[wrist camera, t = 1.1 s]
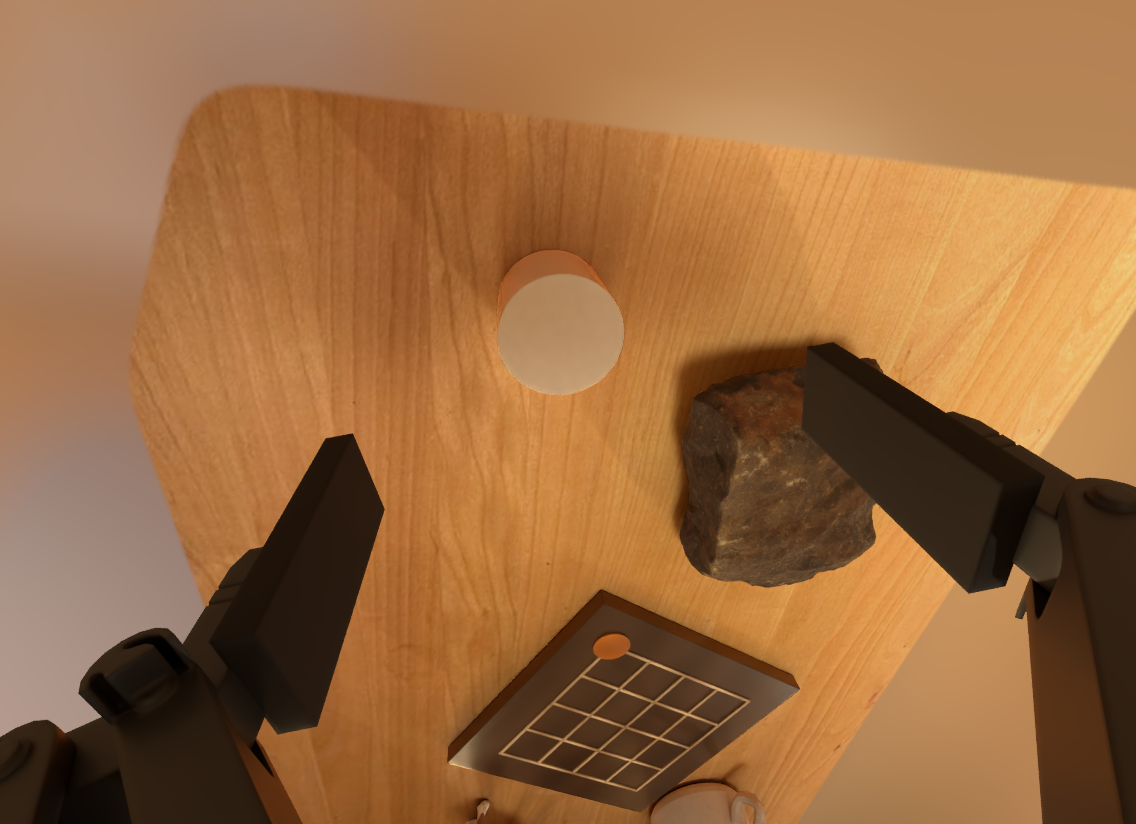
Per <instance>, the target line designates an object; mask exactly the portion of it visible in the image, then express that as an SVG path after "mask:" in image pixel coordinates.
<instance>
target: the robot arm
mask: <svg viewBox="0 0 1136 824" xmlns="http://www.w3.org/2000/svg"><path fill="white" fill-rule="evenodd" d="M801 429H802V430H803V431H804V432H805V433H806V434H807V435H808V436H809V437H810V438H811V439H812V440H813V441H814V442H815V443H816V444H817V445H818V446H819V447H820V448H821V449H822V450H823V451H824V452H825V453H826V454H827V455H828V456H829V457H831V458H832V459H833V460H834V461H835V462H836V463H837V464H838V465H839V466H840V467H841V468H842V469H843V470H844V471H845V472H846V473H847V474H848V475H849V476H850V477H851V478H852V479H853V480H854V481H855V482H856V483H857V484H858V485H859V486H860V487H861V488H862V489H863V490H864V491H865V492H866V493H867V494H868V495H869V496H870V497H871V498H872V499H873V500H874V501H875V502H876V503H877V504H878V505H879V506H880V507H881V508H882V509H883V510H884V511H885V512H886V513H887V514H888V515H889V516H890V517H891V518H892V519H893V520H894V521H895V522H896V523H898V524H899V525H900V526H901V527H902V528H903V529H904V530H905V531H906V532H907V533H908V534H909V535H910V536H911V537H912V538H913V539H914V540H915V541H916V542H917V543H918V544H919V545H920V546H921V547H922V548H923V549H924V550H925V551H926V552H927V553H928V554H929V555H930V556H931V557H932V558H933V559H934V560H935V561H936V562H937V563H938V564H939V565H940V566H941V567H942V568H943V569H944V570H945V571H946V572H947V573H948V574H949V575H950V576H951V577H952V578H953V579H954V580H955V581H956V582H957V583H958V584H959V585H960V586H962V588H964V589H965V590H966V591H967V592H968V593H974V592H979V591H984V590H989V589H994V588H999V587H1003V586H1005V585H1006V583H1007V580H1008V578H1009V575H1010V572H1011V569H1012V567H1013V564H1015V565H1017V566H1018V567H1019V568H1020V569H1021V570H1022V571H1024V572H1025V573H1026V574H1027V575H1029V576H1030V579H1029V581H1028V584H1027V586H1026V589H1025V591H1024V594H1023V597H1022V599H1021V602H1020V604H1019V607H1018V609H1017V612H1016V616H1015V617H1016V618H1019V619H1023V616H1024V614H1025V612H1027V620H1028V634H1029V647H1030V659H1031V660H1030V661H1031V674H1032V687H1033V700H1034V713H1035V727H1036V741H1037V754H1038V768H1039V781H1040V795H1041V807H1042V821H1043V824H1136V487H1134V486H1131V485H1129V484H1125V483H1121V482H1117V481H1113V480H1109V479H1098V478H1085V479H1084V478H1083V479H1075V478H1074V477H1072V476H1070V475H1069V474H1067V473H1065V472H1063V471H1062V470H1060V469H1059V468H1057V467H1055V466H1054V465H1052V464H1050V463H1049V462H1047V461H1045V460H1044V459H1042V458H1040V457H1039V456H1037V455H1035V454H1034V453H1032V452H1030V451H1029V450H1027V449H1026V448H1024V447H1022V446H1021V445H1016V444H1015V442H1014V441H1012V440H1011V439H1009V438H1007V437H1006V436H1004V435H999V432H997V431H996V430H994V429H992V428H991V427H989V426H987V425H986V424H984V423H982V422H981V421H979V420H976V419H973V418H970V417H967V416H965V415H962V414H959V413H956V412H948V413H945V412H943V411H942V410H940V409H939V408H937V407H935V406H934V405H932V404H931V403H929V402H928V401H926V400H924V399H923V398H921V397H920V396H918V395H916V394H915V393H913V392H912V391H910V390H908V389H907V388H905V387H904V386H902V385H900V384H899V383H897V382H896V381H894V380H893V379H891V378H889V377H888V376H886V375H885V374H883V373H881V372H880V371H878V370H877V369H875V368H873V367H872V366H870V365H869V364H867V363H866V362H864V361H862V360H861V359H859V358H858V357H856V356H854V355H853V354H851V353H850V352H848V351H846V350H845V349H843V348H842V347H840V346H839V345H837V344H835V343H834V342H832V343H827V344H821V345H816V346H811V347H807V359H806V372H805V385H804V399H803V412H802V425H801ZM384 510H385V509H384V507H383V504H382V502H381V500H380V497H379V495H378V492H377V490H376V488H375V485H374V483H373V480H372V478H371V476H370V473H369V471H368V468H367V466H366V464H365V461H364V459H363V456H362V454H361V452H360V449H359V447H358V444H357V442H356V440H355V437H354V435H353V433H352V434H347V435H342V436H336V437H331V438H326V439H325V441H324V442H323V444H322V446H321V448H320V449H319V451H318V453H317V455H316V456H315V458H314V460H313V461H312V463H311V465H310V467H309V468H308V470H307V472H306V474H305V475H304V477H303V479H302V481H301V482H300V484H299V486H298V487H297V489H296V491H295V493H294V494H293V496H292V498H291V500H290V501H289V503H288V505H287V507H286V508H285V510H284V512H283V514H282V515H281V517H280V519H279V520H278V522H277V524H276V526H275V527H274V529H273V531H272V533H271V534H270V536H269V538H268V540H267V541H266V543H265V545H264V546H263V547H261V548H256V549H250V550H249V551H248V552H247V553H245V554H244V555H243V556H242V557H241V558H240V559H239V560H238V561H237V562H236V563H235V564H234V565H233V566H232V567H231V568H230V569H229V571H228V572H227V574H226V576H225V577H224V579H223V580H222V582H221V584H220V585H219V590H217V591H216V592H215V593H214V595H213V596H212V598H211V600H210V601H209V606H206V608H205V609H204V611H203V612H202V614H201V616H200V617H199V619H198V620H197V622H196V624H195V625H194V627H193V628H192V630H191V632H190V633H189V635H188V636H187V638H186V640H185V641H184V643H183V644H182V643H181V642H180V641H179V639H178V638H177V637H176V636H175V635H174V633H172V632H171V631H170V630H169V629H167V628H153V629H150V630H146V631H142V632H139V633H137V634H135V635H133V636H131V637H129V638H127V639H125V640H123V641H121V642H120V643H119V644H117V645H116V646H114V647H113V648H111V649H110V650H108V651H107V652H106V653H104V654H103V655H102V656H101V657H100V658H99V659H98V660H97V661H96V662H95V663H94V664H93V665H92V666H91V667H90V668H89V670H88V671H87V673H86V674H85V676H84V677H83V679H82V680H81V683H80V688H79V695H81V696H82V697H83V698H84V699H85V700H86V701H87V702H88V703H89V704H90V705H91V706H92V707H93V708H94V709H95V710H96V711H97V712H98V713H99V714H100V715H101V716H102V717H101V718H99V719H96V720H94V721H92V722H90V723H87V724H85V725H83V726H81V727H79V728H76V729H74V730H72V731H70V732H67V733H64V732H63V731H62V730H61V729H59V727H57V726H56V725H55V724H54V723H52V722H50V721H48V720H41V721H33V722H30V723H27V724H25V725H22V726H20V727H17V728H15V729H13V730H12V731H10V732H8V733H7V734H5V735H3V736H2V737H0V824H302V822H301V820H300V818H299V816H298V814H297V812H296V810H295V808H294V806H293V804H292V802H291V800H290V798H289V796H288V794H287V792H286V790H285V788H284V787H283V785H282V783H281V781H280V779H279V777H278V775H277V773H276V771H275V769H274V767H273V765H272V763H271V761H270V759H269V757H268V755H267V753H266V751H265V749H264V748H263V746H262V745H261V743H260V742H259V741H258V740H257V738H256V737H257V735H258V732H259V730H260V727H261V725H262V722H263V720H264V717H265V718H266V719H267V721H268V722H269V723H270V725H271V726H272V727H273V729H274V730H275V731H276V733H277V734H282V733H287V732H292V731H297V730H302V729H307V728H312V727H316V726H317V725H318V722H319V719H320V715H321V712H322V709H323V706H324V703H325V699H326V696H327V693H328V690H329V686H330V683H331V680H332V677H333V674H334V670H335V667H336V664H337V661H338V658H339V654H340V651H341V648H342V645H343V641H344V638H345V635H346V632H347V629H348V625H349V622H350V619H351V616H352V613H353V609H354V606H355V603H356V600H357V596H358V593H359V590H360V587H361V584H362V580H363V577H364V574H365V571H366V568H367V564H368V561H369V558H370V555H371V551H372V548H373V545H374V542H375V539H376V535H377V532H378V529H379V526H380V523H381V519H382V516H383V513H384Z"/></svg>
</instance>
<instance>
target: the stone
mask: <svg viewBox="0 0 1136 824" xmlns="http://www.w3.org/2000/svg"><path fill="white" fill-rule="evenodd" d="M861 360H862V361H864V362H866V363H867V364H869V365H870V366H872V367H873V368H875V369H877V370H878V371H880V372H881V373H883V371H882V369H881V368H880V366H879V365H878V363H877V361H876V359H870V358H861ZM805 372H806V366H796V367H790V368H788V369H775V370H771V371H766V372H761V373H755V374H748V375H740V376H737V377H733V378H731V379H728V380H726V381H724V382H722V383H717V384H712V385H711V386H710V387H709V388H708V389H707V390H706V391H704V392H702V393H700V394H698V395H697V396H695V397H694V398H693V402H692V405H691V408H690V410H689V413H690V417H689V421H688V424H687V426H686V429H685V432H684V435H683V438H682V449H683V451H684V461H685V466H686V469H687V475H688V481H689V484H690V490H689V505H688V508H687V511H686V513H685V516H684V521H683V524H682V527H681V530H680V539H681V543H682V545H683V548H684V551H685V554H686V556H687V558H688V559H689V561H690V563H691V564H692V565H693V566H694V567H695V568H696V569H697V570H698V571H699V572H700V573H701V574H702V575H705V576H708V577H711V578H714V579H717V580H721V581H743V582H746V583H748V584H750V585H752V586H755V585H757V586H762V587H775V586H781V585H785V584H786V585H790V584H794V583H798V582H803V581H806V580H808V579H811V578H813V577H814V575H816V574H817V573H818V572H823V571H828V570H835V569H838V568H840V567H844V566H846V565H847V564H849V563H850V562H851V561H853V560H854V559H856V558H857V557H859V556H861V555H862V554H863V553H864V552H865V551H866V550H867V549H869V548H870V547H871V546H872V545H873V544H875V539H876V534H875V530H874V527H873V520H872V508H873V506H874V505H875V504H876V502H875V501H874V500H873V499H872V498H871V497H870V496H869V495H868V494H867V493H866V492H865V491H864V490H863V489H862V488H861V487H860V486H859V485H858V484H857V483H856V482H855V481H854V480H853V479H852V478H851V477H850V476H849V475H848V474H847V473H846V472H845V471H844V470H843V469H842V468H841V467H840V466H839V465H838V464H837V463H836V462H835V461H834V460H833V459H832V458H831V457H829V456H828V455H827V454H826V453H825V452H824V451H823V450H822V449H821V448H820V447H819V446H818V445H817V444H816V443H815V442H814V441H813V440H812V439H811V438H810V437H809V436H808V435H807V434H806V433H805V432H804V431H803V430H802V429H801V425H802V412H803V399H804V385H805Z"/></svg>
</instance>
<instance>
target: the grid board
mask: <svg viewBox="0 0 1136 824" xmlns="http://www.w3.org/2000/svg"><path fill="white" fill-rule="evenodd" d="M799 690H800V688H799V686H798V684H797V682H796V680H795V678H794V677H793V676H792V675H790V674H788V673H786V672H783V671H781V670H779V669H777V668H774V667H772V666H770V665H768V664H765V663H763V662H761V661H759V660H756V659H754V658H752V657H750V656H748V655H745V654H743V653H741V652H739V651H736V650H734V649H732V648H730V647H727V646H725V645H723V644H721V643H719V642H716V641H714V640H712V639H710V638H707V637H705V636H703V635H701V634H698V633H696V632H694V631H692V630H689V629H687V628H685V627H683V626H681V625H678V624H676V623H674V622H672V621H669V620H667V619H665V618H663V617H660V616H658V615H656V614H654V613H651V612H649V611H647V610H645V609H643V608H640V607H638V606H636V605H634V604H631V603H629V602H627V601H625V600H622V599H620V598H618V597H616V596H614V595H611V594H609V593H607V592H605V591H602V590H601V591H600V592H599V593H598V594H597V595H596V596H595V597H594V598H593V599H592V600H591V601H590V602H589V603H588V604H587V605H586V606H585V607H584V608H583V609H582V610H581V611H580V612H579V613H578V614H577V616H576V617H575V618H574V619H573V620H572V621H571V622H570V623H569V624H568V625H567V626H566V627H565V628H564V629H563V630H562V631H561V632H560V633H559V634H558V635H557V636H556V637H555V638H554V639H553V640H552V641H551V642H550V643H549V644H548V645H547V646H546V647H545V648H544V650H543V651H542V652H541V653H540V654H539V655H538V656H537V657H536V658H535V659H534V660H533V661H532V662H531V663H530V664H529V665H528V666H527V667H526V668H525V669H524V670H523V671H522V672H521V673H520V674H519V675H518V676H517V677H516V678H515V679H514V680H513V681H512V683H511V684H510V685H509V686H508V687H507V688H506V689H505V690H504V691H503V692H502V693H501V694H500V695H499V696H498V697H497V698H496V699H495V700H494V701H493V702H492V703H491V704H490V705H489V706H488V707H487V708H486V709H485V710H484V711H483V712H482V713H481V714H480V715H479V717H478V718H477V719H476V720H475V721H474V722H473V723H472V724H471V725H470V726H469V727H468V728H467V729H466V730H465V731H464V732H463V733H462V734H461V735H460V736H459V737H458V738H457V739H456V740H455V741H454V742H453V743H452V744H451V745H450V746H449V748H448V758H447V763H449V764H452V765H456V766H460V767H464V768H468V769H472V770H476V771H480V772H484V773H488V774H492V775H496V776H500V777H503V778H507V779H511V780H515V781H519V782H523V783H527V784H531V785H535V786H539V787H543V788H547V789H550V790H554V791H558V792H562V793H566V794H570V795H574V796H578V797H582V798H586V799H590V800H594V801H598V802H601V803H605V804H609V805H613V806H617V807H621V808H625V809H629V810H633V811H637V812H641V811H643V810H644V809H645V808H647V807H648V806H649V805H651V804H652V803H653V802H654V801H656V800H657V799H658V798H660V797H661V796H662V795H664V794H665V793H666V792H667V791H669V790H670V789H671V788H673V787H674V786H675V785H677V784H678V783H679V782H681V781H682V780H683V779H684V778H686V777H687V776H688V775H690V774H691V773H692V772H694V771H695V770H696V769H697V768H699V767H700V766H701V765H703V764H704V763H705V762H707V761H708V760H709V759H710V758H712V757H713V756H714V755H716V754H717V753H718V752H720V751H721V750H722V749H723V748H725V747H726V746H727V745H729V744H730V743H731V742H733V741H734V740H735V739H736V738H738V737H739V736H740V735H742V734H743V733H744V732H746V731H747V730H748V729H749V728H751V727H752V726H753V725H755V724H756V723H757V722H759V721H760V720H761V719H763V718H764V717H765V716H766V715H768V714H769V713H770V712H772V711H773V710H774V709H776V708H777V707H778V706H779V705H781V704H782V703H783V702H785V701H786V700H787V699H789V698H790V697H791V696H792V695H794V694H795V693H796V692H798V691H799Z"/></svg>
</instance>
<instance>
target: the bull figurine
mask: <svg viewBox="0 0 1136 824" xmlns="http://www.w3.org/2000/svg"><path fill="white" fill-rule="evenodd" d="M489 806H490V801H488V800H484V801H482V802H481V803H480V805H479V806H478V807H477V812H478V816H477V819H473V820H470V821H469V822H468V821H467V822H466V824H484V816H485V813H486V811H487V809H488V807H489Z"/></svg>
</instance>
